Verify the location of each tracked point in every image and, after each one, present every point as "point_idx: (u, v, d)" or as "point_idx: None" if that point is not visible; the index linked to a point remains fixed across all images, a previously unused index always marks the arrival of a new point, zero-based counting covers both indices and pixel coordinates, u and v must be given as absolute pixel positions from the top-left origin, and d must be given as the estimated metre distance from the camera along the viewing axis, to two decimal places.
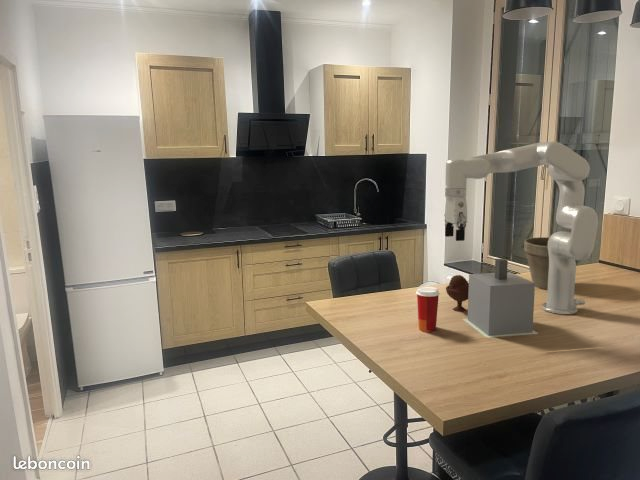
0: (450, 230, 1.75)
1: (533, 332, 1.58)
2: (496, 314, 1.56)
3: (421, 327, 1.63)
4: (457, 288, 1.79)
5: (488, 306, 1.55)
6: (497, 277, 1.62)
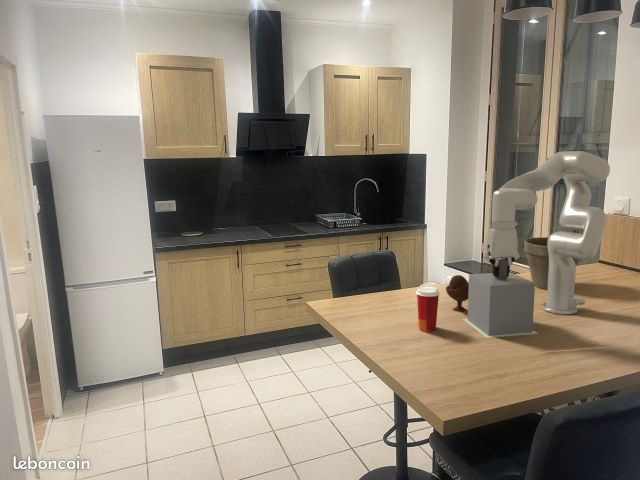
0: None
1: (533, 332, 1.58)
2: (496, 314, 1.56)
3: (421, 327, 1.63)
4: (457, 288, 1.79)
5: (488, 306, 1.55)
6: None
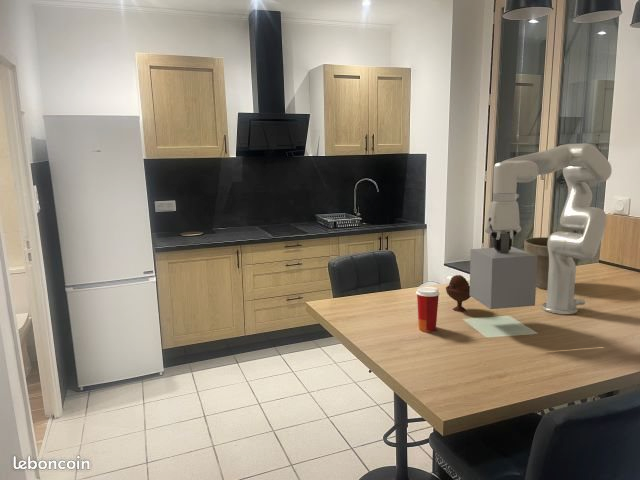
0: None
1: (533, 332, 1.58)
2: (498, 287, 1.54)
3: (421, 327, 1.63)
4: (457, 288, 1.79)
5: (490, 279, 1.54)
6: (499, 251, 1.60)
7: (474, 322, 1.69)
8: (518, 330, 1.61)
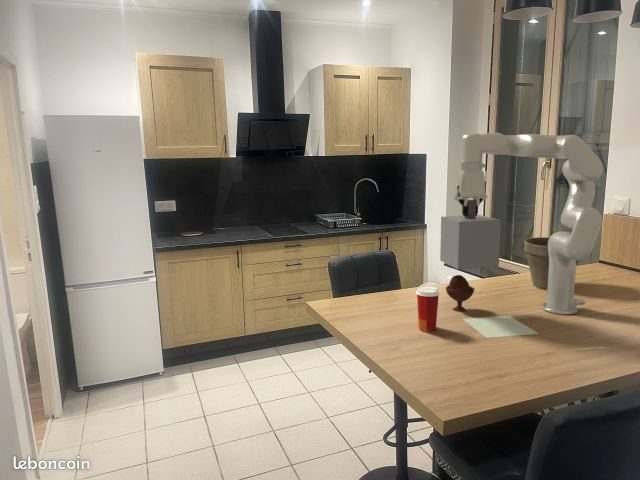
0: None
1: (533, 332, 1.58)
2: (464, 249, 1.67)
3: (421, 327, 1.63)
4: (457, 288, 1.79)
5: (457, 241, 1.67)
6: None
7: (474, 322, 1.69)
8: (518, 330, 1.61)
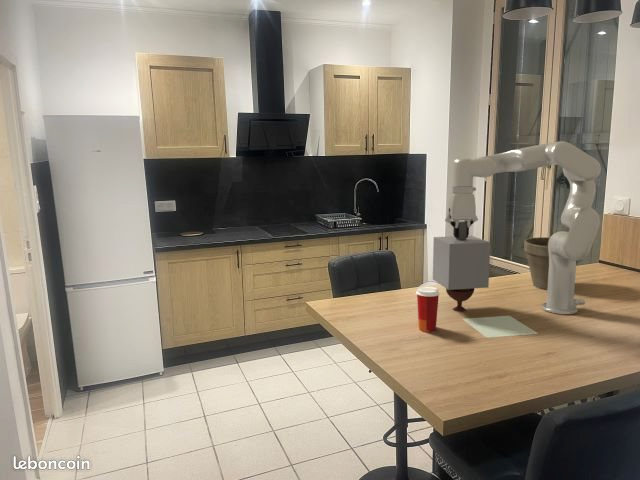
0: None
1: (533, 332, 1.58)
2: (455, 270, 1.73)
3: (421, 327, 1.63)
4: None
5: (448, 263, 1.72)
6: (457, 238, 1.79)
7: (474, 322, 1.69)
8: (518, 330, 1.61)
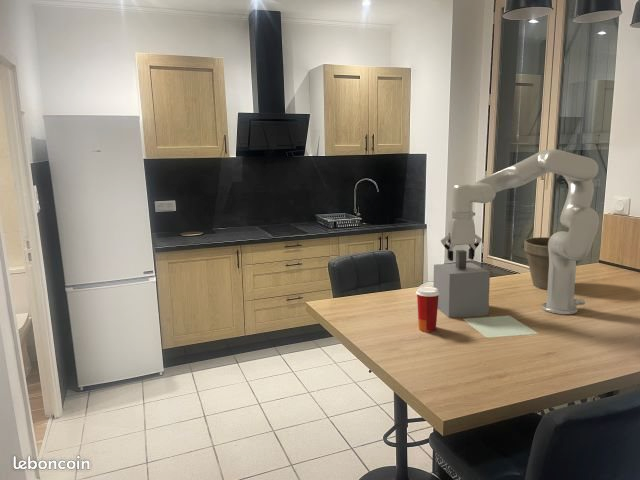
0: None
1: (533, 332, 1.58)
2: (455, 299, 1.74)
3: (421, 327, 1.63)
4: None
5: (448, 292, 1.74)
6: (457, 266, 1.81)
7: (474, 322, 1.69)
8: (518, 330, 1.61)
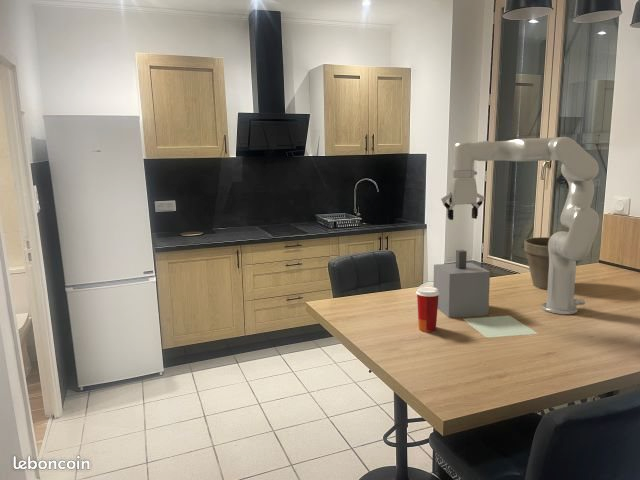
0: None
1: (533, 332, 1.58)
2: (455, 299, 1.74)
3: (421, 327, 1.63)
4: None
5: (448, 292, 1.74)
6: (457, 266, 1.81)
7: (474, 322, 1.69)
8: (518, 330, 1.61)
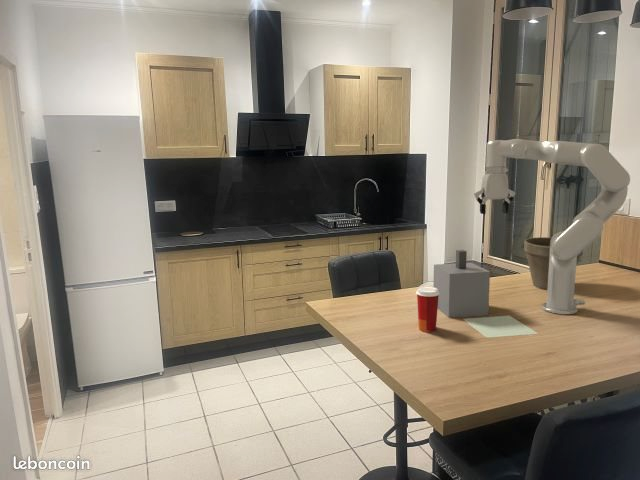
0: None
1: (533, 332, 1.58)
2: (455, 299, 1.74)
3: (421, 327, 1.63)
4: None
5: (448, 292, 1.74)
6: (457, 266, 1.81)
7: (474, 322, 1.69)
8: (518, 330, 1.61)
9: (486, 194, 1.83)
